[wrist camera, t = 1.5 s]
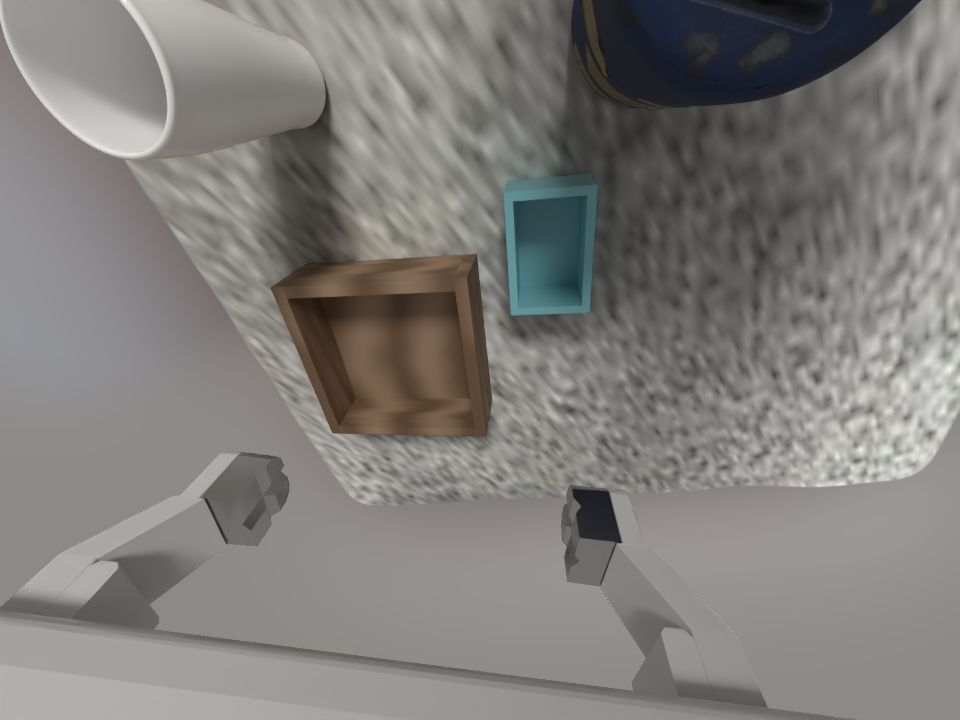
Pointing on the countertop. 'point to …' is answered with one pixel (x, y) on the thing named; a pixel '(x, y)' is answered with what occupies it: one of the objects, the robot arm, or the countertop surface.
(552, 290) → the teal crate
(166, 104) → the white cup
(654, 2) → the canister
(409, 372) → the walnut crate
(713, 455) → the countertop surface
